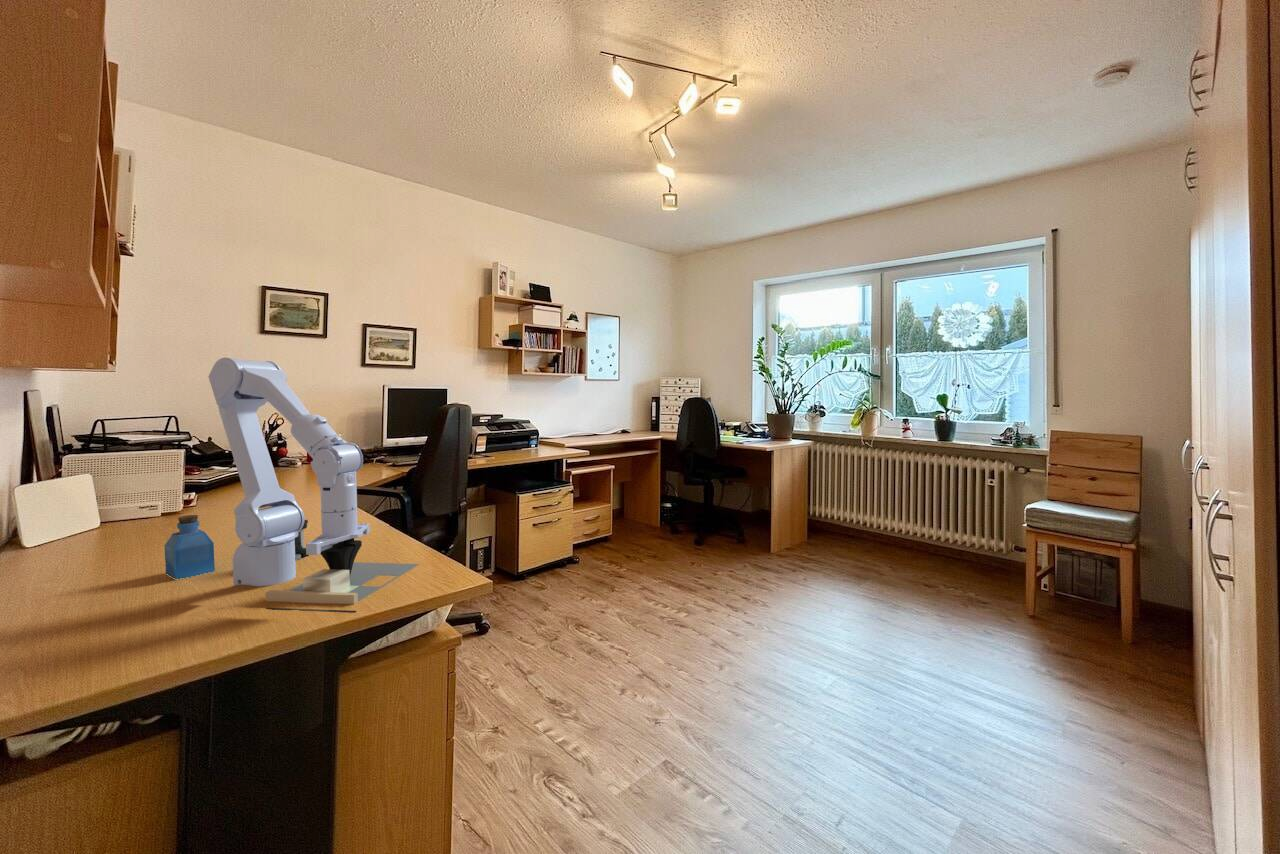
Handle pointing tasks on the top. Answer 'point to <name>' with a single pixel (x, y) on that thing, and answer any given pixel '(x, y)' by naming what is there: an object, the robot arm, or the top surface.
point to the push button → (300, 544)
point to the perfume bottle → (189, 550)
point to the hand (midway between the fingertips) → (341, 581)
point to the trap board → (353, 595)
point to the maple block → (327, 581)
